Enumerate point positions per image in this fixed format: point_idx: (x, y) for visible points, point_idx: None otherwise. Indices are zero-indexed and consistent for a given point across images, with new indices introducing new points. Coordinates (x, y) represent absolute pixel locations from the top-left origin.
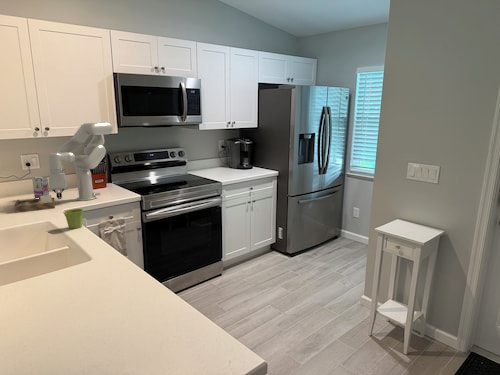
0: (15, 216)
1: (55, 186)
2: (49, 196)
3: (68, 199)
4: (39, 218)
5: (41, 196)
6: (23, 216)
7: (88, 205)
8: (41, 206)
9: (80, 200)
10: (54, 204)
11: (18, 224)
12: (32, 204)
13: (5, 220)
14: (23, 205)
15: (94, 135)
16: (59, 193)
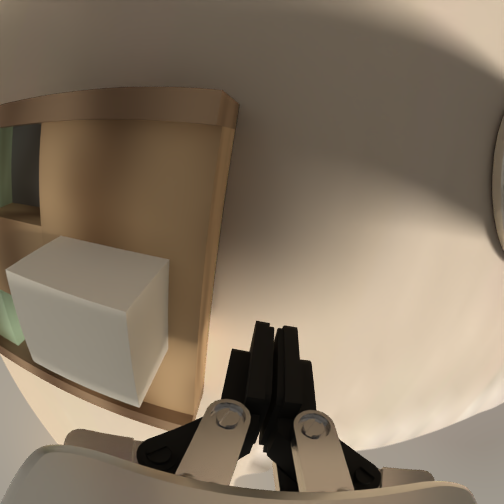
0: (36, 389)
1: None
2: (122, 399)
3: (428, 7)
4: None
5: (26, 323)
6: (69, 417)
7: (410, 435)
8: None
9: (498, 236)
10: (197, 398)
11: None
12: (41, 377)
13: (35, 411)
14: (4, 354)
15: None
16: (264, 445)
